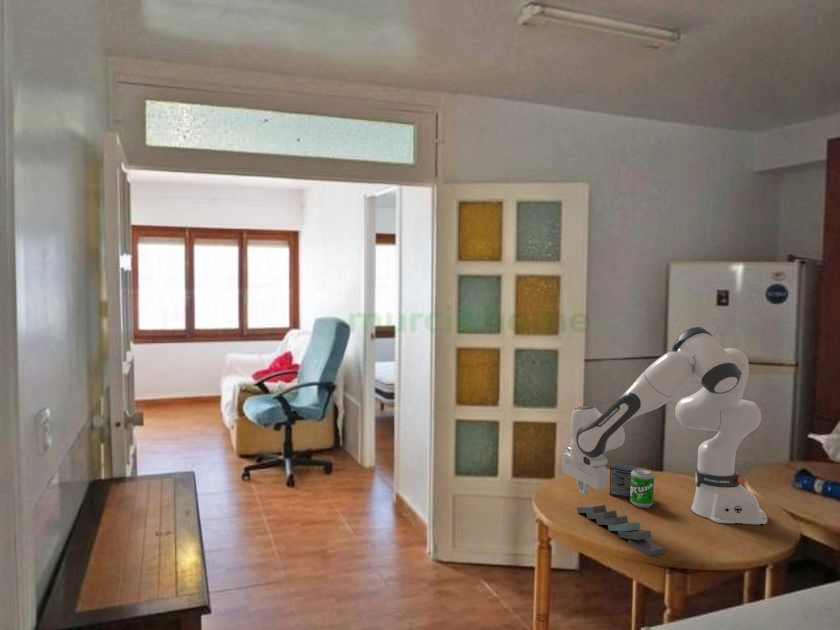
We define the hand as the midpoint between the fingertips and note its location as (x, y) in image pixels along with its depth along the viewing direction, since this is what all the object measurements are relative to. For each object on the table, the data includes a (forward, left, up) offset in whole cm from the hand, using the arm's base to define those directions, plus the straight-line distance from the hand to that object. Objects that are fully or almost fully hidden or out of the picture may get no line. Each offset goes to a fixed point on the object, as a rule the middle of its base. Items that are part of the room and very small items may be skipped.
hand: (583, 493), depth 203 cm
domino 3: (-6, +8, -5) cm, 12 cm away
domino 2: (-3, +4, -5) cm, 8 cm away
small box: (-14, -20, -6) cm, 25 cm away
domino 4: (-10, +12, -5) cm, 17 cm away
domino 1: (0, 0, -5) cm, 5 cm away
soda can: (-19, -12, -6) cm, 23 cm away
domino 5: (-13, +16, -5) cm, 21 cm away
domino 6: (-16, +19, -6) cm, 26 cm away
